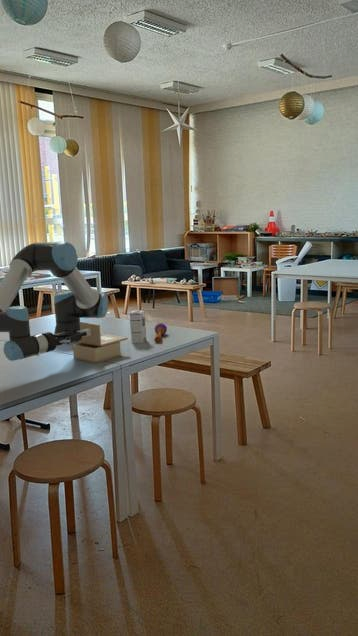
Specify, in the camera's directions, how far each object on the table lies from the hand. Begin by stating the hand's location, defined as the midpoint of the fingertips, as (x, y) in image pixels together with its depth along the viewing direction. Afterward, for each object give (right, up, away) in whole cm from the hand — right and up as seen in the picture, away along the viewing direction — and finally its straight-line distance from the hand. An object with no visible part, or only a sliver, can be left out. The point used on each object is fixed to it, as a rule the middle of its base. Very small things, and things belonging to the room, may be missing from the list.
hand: (90, 331), depth 237 cm
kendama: (+28, -4, +36) cm, 46 cm away
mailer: (+2, -11, +5) cm, 12 cm away
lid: (+4, -4, +7) cm, 9 cm away
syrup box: (+18, -6, +31) cm, 36 cm away
